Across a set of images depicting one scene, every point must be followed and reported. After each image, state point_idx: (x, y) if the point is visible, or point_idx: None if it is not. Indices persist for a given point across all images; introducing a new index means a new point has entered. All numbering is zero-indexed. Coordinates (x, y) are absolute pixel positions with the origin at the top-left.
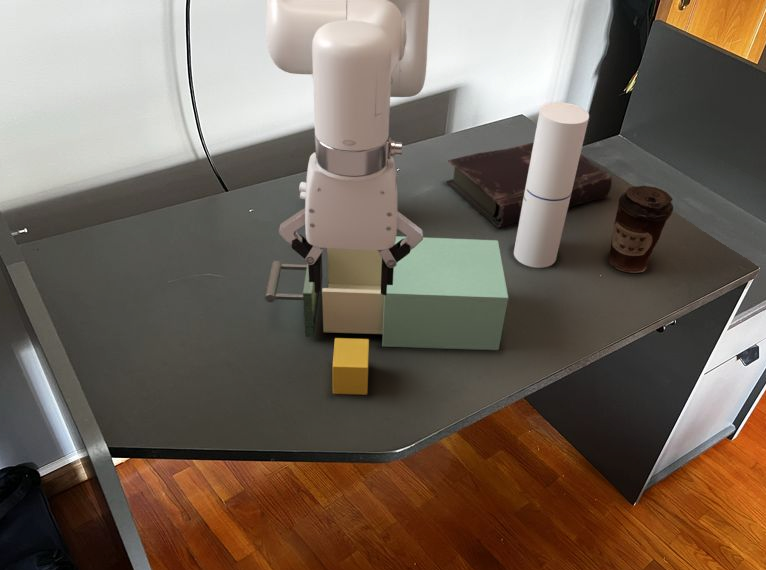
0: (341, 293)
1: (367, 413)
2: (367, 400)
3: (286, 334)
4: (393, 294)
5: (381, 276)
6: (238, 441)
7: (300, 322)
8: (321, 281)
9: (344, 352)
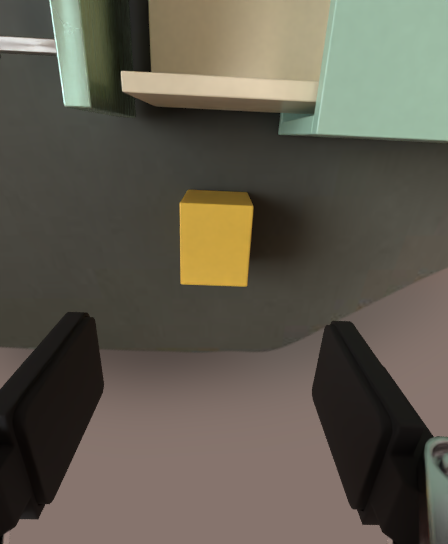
0: (182, 95)
1: (241, 294)
2: None
3: None
4: (342, 135)
5: (338, 471)
6: None
7: None
8: (92, 371)
9: (201, 248)
